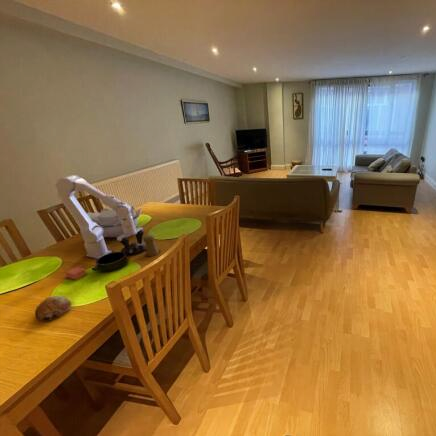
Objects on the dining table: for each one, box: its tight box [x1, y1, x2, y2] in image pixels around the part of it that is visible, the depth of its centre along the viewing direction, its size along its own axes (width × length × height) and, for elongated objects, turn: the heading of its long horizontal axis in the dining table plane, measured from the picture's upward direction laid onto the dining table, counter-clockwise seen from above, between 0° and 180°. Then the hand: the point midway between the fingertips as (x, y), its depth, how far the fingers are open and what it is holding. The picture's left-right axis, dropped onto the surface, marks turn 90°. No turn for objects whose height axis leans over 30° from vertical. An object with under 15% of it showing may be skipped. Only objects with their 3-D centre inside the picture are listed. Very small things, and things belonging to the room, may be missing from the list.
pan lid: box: [120, 240, 146, 256], centre depth 137 cm, size 14×14×5 cm
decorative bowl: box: [86, 205, 142, 238], centre depth 154 cm, size 30×30×15 cm
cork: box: [143, 234, 160, 257], centre depth 132 cm, size 6×6×11 cm
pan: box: [91, 251, 129, 273], centre depth 122 cm, size 12×18×4 cm
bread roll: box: [34, 295, 72, 322], centre depth 92 cm, size 10×10×8 cm
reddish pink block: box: [65, 266, 87, 281], centre depth 114 cm, size 6×4×3 cm
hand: (134, 246), depth 137 cm, fingers open, 7 cm apart
